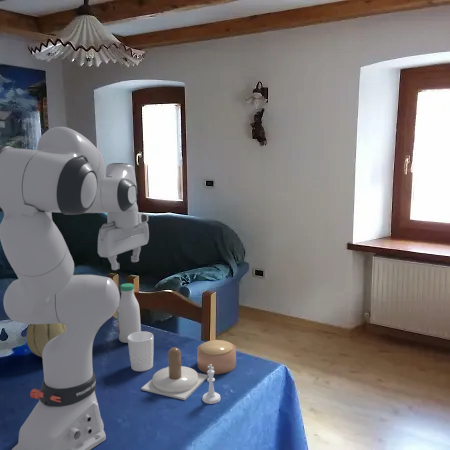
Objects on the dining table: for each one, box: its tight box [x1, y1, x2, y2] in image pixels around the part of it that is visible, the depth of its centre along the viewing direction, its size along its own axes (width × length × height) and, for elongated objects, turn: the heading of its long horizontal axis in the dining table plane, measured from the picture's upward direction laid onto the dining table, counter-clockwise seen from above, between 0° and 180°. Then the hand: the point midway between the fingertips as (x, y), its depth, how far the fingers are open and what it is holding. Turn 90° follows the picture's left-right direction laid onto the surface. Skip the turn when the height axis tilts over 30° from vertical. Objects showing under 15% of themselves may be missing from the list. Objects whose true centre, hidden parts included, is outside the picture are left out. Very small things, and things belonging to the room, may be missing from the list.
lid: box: [152, 346, 198, 393], centre depth 138 cm, size 13×13×10 cm
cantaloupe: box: [26, 324, 66, 358], centre depth 158 cm, size 15×15×15 cm
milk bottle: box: [116, 282, 142, 344], centre depth 169 cm, size 8×8×20 cm
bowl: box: [196, 339, 237, 375], centre depth 150 cm, size 12×12×6 cm
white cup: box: [127, 330, 155, 372], centre depth 149 cm, size 8×8×10 cm
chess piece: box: [201, 364, 221, 405], centre depth 130 cm, size 5×5×10 cm
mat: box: [141, 366, 209, 401], centre depth 139 cm, size 14×14×1 cm
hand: (125, 265), depth 142 cm, fingers open, 8 cm apart
